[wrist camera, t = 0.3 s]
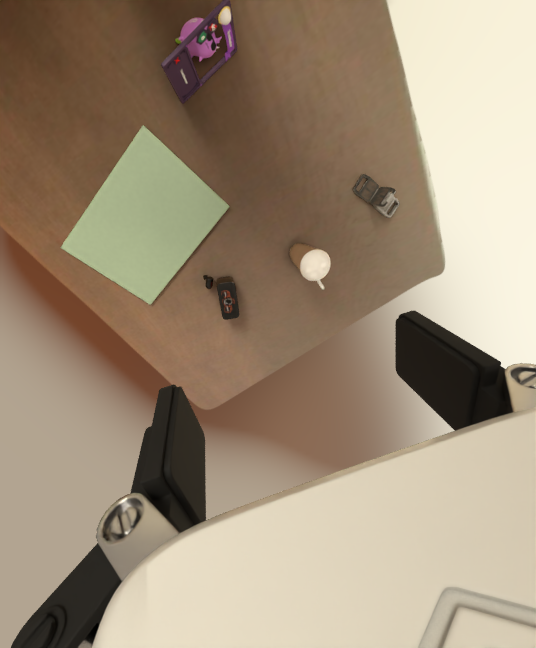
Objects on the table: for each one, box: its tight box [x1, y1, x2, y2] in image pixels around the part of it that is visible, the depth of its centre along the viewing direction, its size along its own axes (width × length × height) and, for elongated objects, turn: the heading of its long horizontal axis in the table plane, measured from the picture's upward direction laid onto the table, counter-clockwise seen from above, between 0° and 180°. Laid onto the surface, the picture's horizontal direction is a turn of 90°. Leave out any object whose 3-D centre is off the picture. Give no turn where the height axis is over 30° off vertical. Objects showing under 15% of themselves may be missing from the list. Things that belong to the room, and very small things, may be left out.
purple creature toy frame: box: [161, 0, 237, 103], centre depth 31 cm, size 7×5×9 cm
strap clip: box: [353, 174, 399, 218], centre depth 44 cm, size 8×3×4 cm, turn 59°
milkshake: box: [289, 243, 330, 290], centre depth 43 cm, size 5×5×10 cm
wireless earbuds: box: [203, 275, 239, 320], centre depth 46 cm, size 5×7×3 cm, turn 5°
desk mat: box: [61, 125, 230, 305], centre depth 40 cm, size 14×20×1 cm
